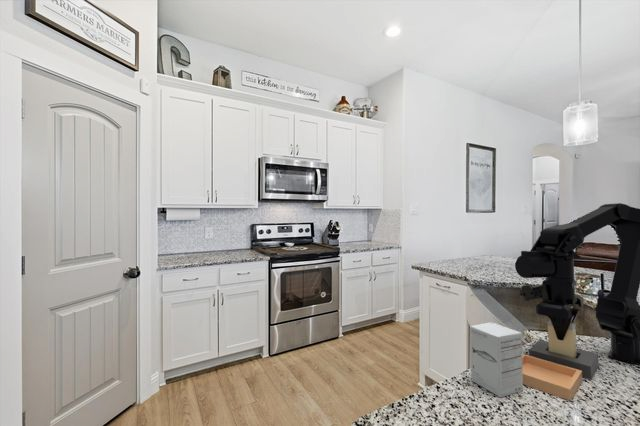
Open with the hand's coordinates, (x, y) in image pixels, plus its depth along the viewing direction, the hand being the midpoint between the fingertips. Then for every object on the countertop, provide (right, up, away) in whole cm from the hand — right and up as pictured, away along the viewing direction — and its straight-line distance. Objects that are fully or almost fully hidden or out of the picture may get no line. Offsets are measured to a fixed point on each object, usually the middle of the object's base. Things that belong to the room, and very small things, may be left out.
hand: (561, 338), depth 75 cm
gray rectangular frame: (0, -6, 0) cm, 6 cm away
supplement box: (-23, -7, -10) cm, 26 cm away
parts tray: (-11, -6, -8) cm, 14 cm away
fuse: (0, -4, 0) cm, 4 cm away
